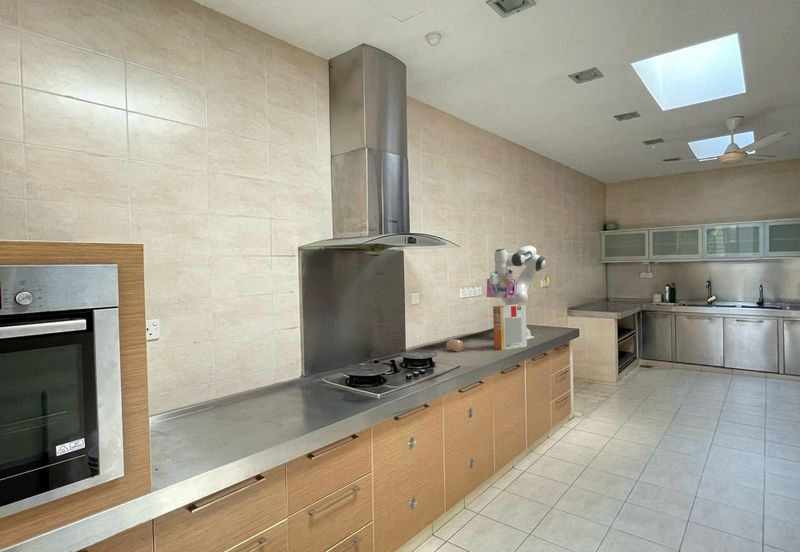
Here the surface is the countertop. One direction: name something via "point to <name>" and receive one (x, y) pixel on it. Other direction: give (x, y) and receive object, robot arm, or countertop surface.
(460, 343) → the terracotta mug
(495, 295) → the pink purple package
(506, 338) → the pasta box
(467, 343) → the countertop surface
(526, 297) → the robot arm
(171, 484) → the countertop surface
